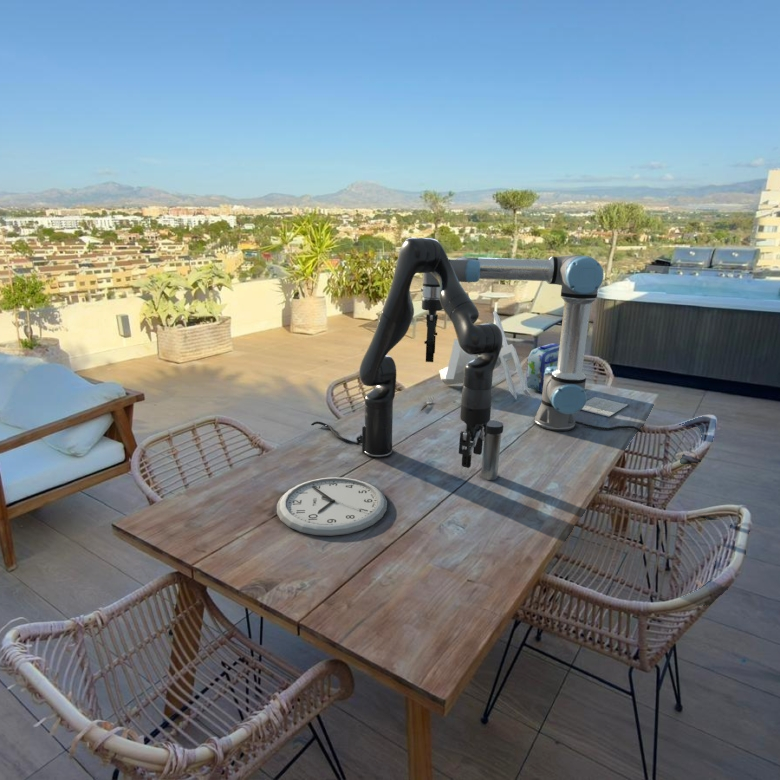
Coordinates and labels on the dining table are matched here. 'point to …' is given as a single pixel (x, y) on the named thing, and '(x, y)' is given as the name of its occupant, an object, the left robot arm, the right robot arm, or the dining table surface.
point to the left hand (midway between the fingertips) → (471, 460)
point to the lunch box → (541, 364)
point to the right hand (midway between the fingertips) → (430, 357)
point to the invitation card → (603, 406)
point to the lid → (494, 427)
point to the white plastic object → (461, 358)
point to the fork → (427, 403)
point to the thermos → (490, 456)
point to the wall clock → (331, 506)
